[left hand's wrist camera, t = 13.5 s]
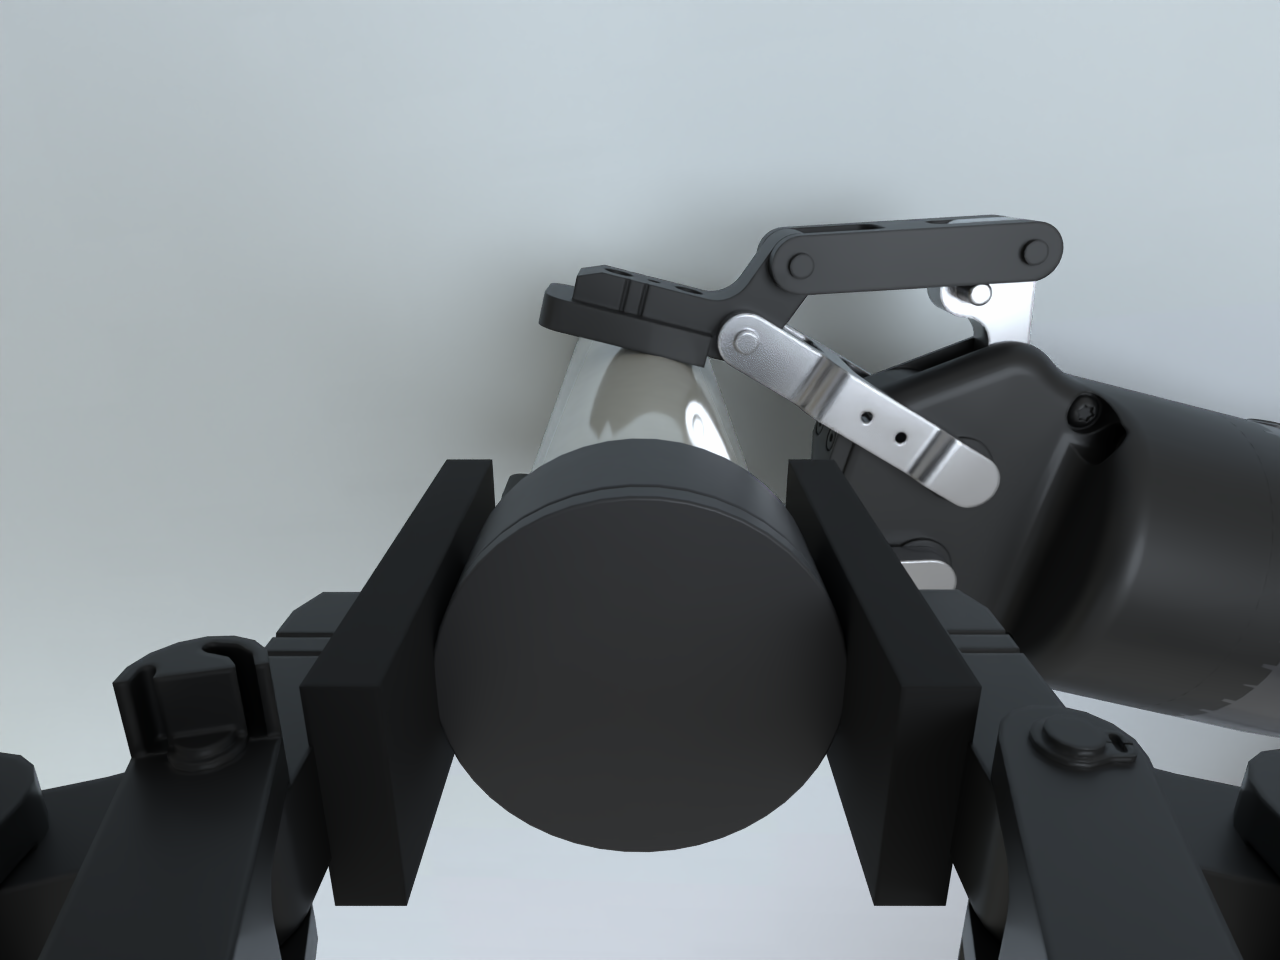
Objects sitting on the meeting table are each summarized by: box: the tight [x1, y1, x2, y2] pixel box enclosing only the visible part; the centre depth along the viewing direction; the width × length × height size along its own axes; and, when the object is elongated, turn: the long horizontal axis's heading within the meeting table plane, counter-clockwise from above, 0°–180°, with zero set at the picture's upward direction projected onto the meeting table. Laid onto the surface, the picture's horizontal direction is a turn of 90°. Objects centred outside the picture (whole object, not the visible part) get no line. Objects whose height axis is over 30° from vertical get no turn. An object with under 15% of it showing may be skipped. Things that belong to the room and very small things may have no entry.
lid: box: [434, 438, 847, 852], centre depth 11 cm, size 5×5×2 cm
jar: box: [531, 337, 749, 472], centre depth 18 cm, size 4×4×16 cm
